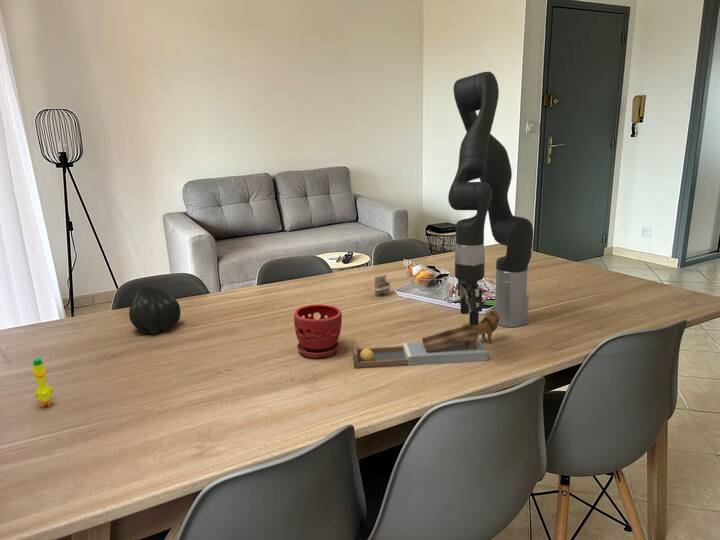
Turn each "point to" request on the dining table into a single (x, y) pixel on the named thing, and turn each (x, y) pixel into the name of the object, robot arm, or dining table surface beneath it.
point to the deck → (443, 354)
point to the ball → (366, 355)
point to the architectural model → (381, 285)
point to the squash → (154, 310)
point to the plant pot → (317, 330)
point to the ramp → (452, 339)
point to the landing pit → (380, 357)
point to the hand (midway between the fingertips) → (469, 319)
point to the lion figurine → (487, 324)
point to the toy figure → (41, 382)
